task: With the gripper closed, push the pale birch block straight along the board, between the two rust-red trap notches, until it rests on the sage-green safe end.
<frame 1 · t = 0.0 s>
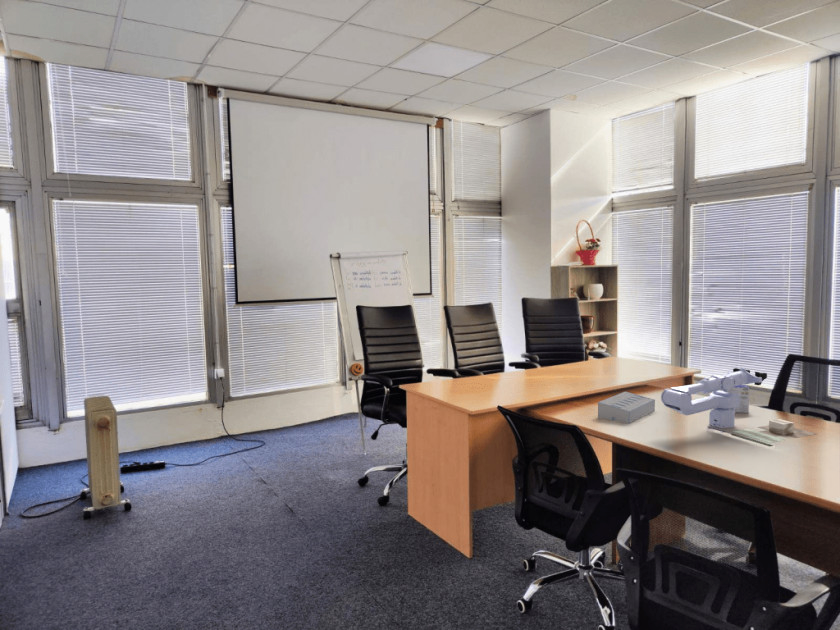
hand: (757, 373, 240), 22 cm above the table, tool horizontal, fingers open, 7 cm apart
birch block: (781, 431, 224), point 1 cm above the table, touching trap board
warehouse: (626, 415, 259), on the table
ink cartridge box: (735, 411, 263), on the table
trap board: (774, 436, 223), on the table
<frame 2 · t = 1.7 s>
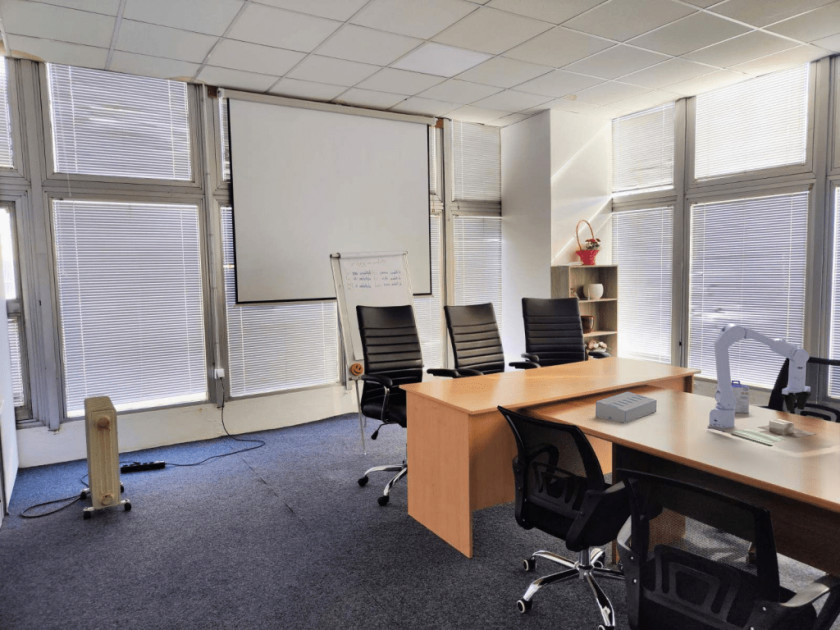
hand: (795, 410, 227), 9 cm above the table, tool pointing down, fingers open, 6 cm apart
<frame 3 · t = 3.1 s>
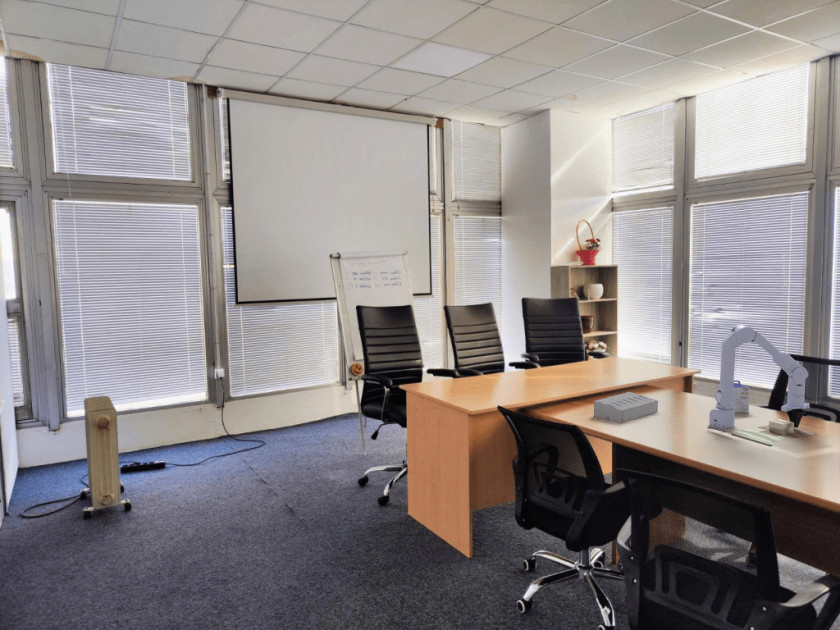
hand: (794, 427, 227), 2 cm above the table, tool pointing down, fingers closed
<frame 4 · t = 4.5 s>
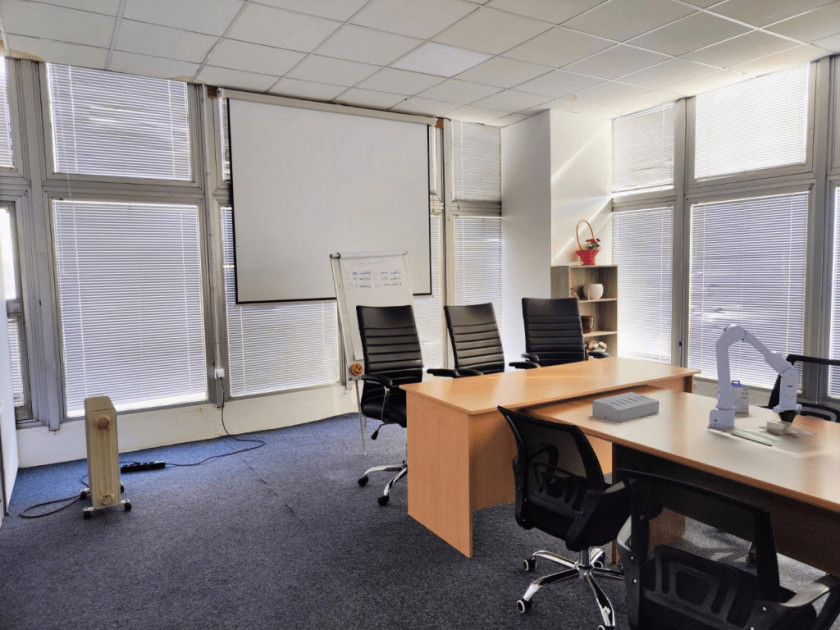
hand: (786, 428, 226), 2 cm above the table, tool pointing down, fingers closed
birch block: (778, 431, 224), point 2 cm above the table, touching gripper, trap board
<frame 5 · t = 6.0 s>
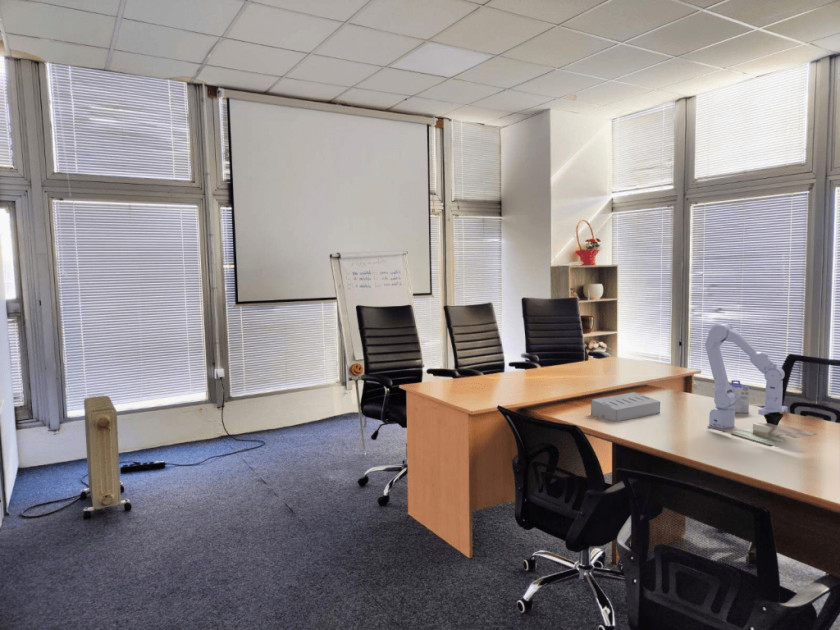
hand: (772, 430, 222), 2 cm above the table, tool pointing down, fingers closed
birch block: (765, 434, 220), point 2 cm above the table, touching gripper, trap board
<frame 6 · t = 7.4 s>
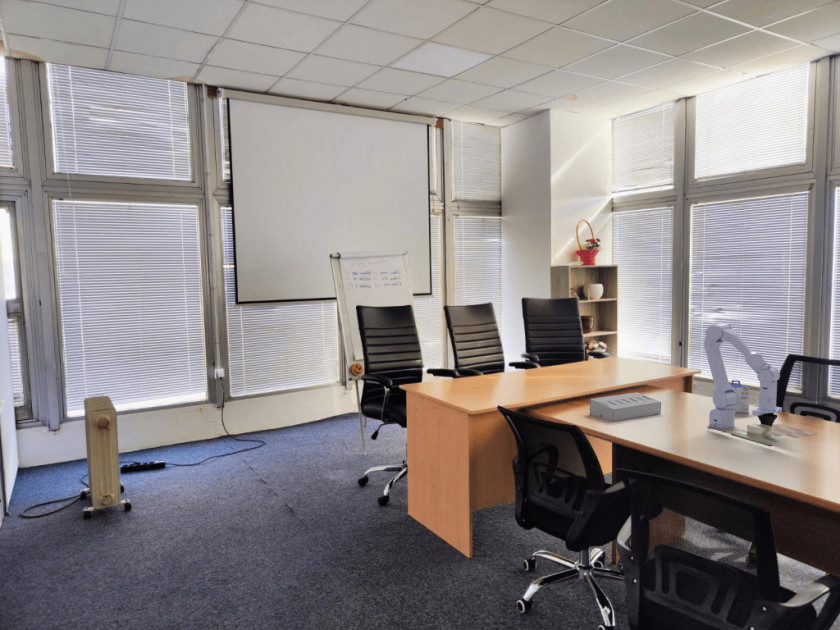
hand: (766, 431, 221), 2 cm above the table, tool pointing down, fingers closed
birch block: (759, 435, 219), point 1 cm above the table, touching gripper, trap board
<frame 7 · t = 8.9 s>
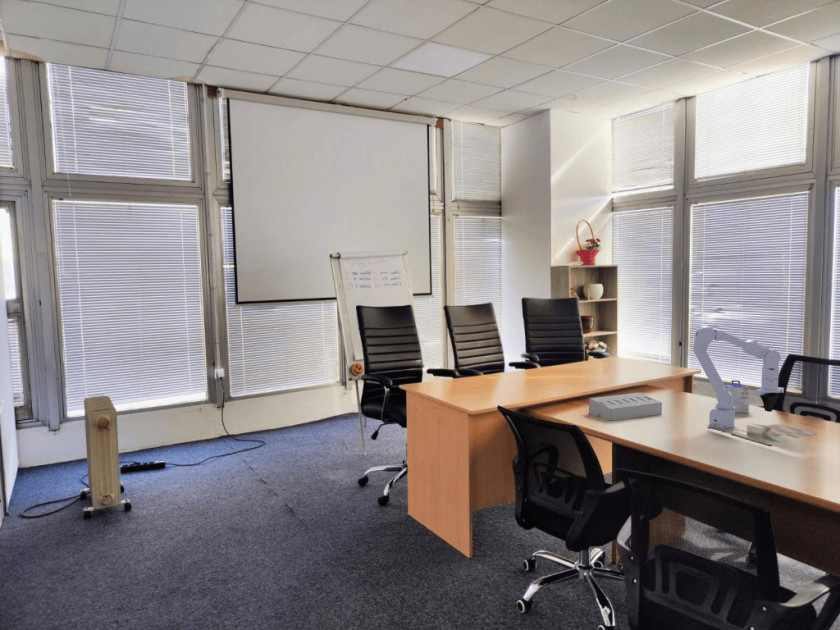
hand: (768, 411, 228), 9 cm above the table, tool pointing down, fingers closed
birch block: (759, 435, 219), point 1 cm above the table, touching trap board
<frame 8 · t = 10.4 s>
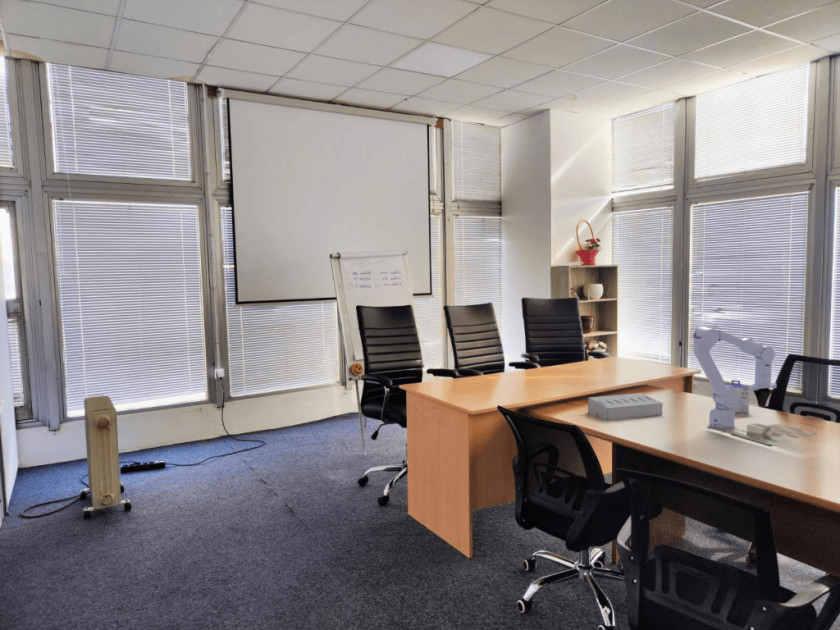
hand: (761, 406, 234), 9 cm above the table, tool pointing down, fingers closed
at the end: birch block 0.3 cm from the target spot, point 1.5 cm above the table; birch block tilted 0° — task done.
